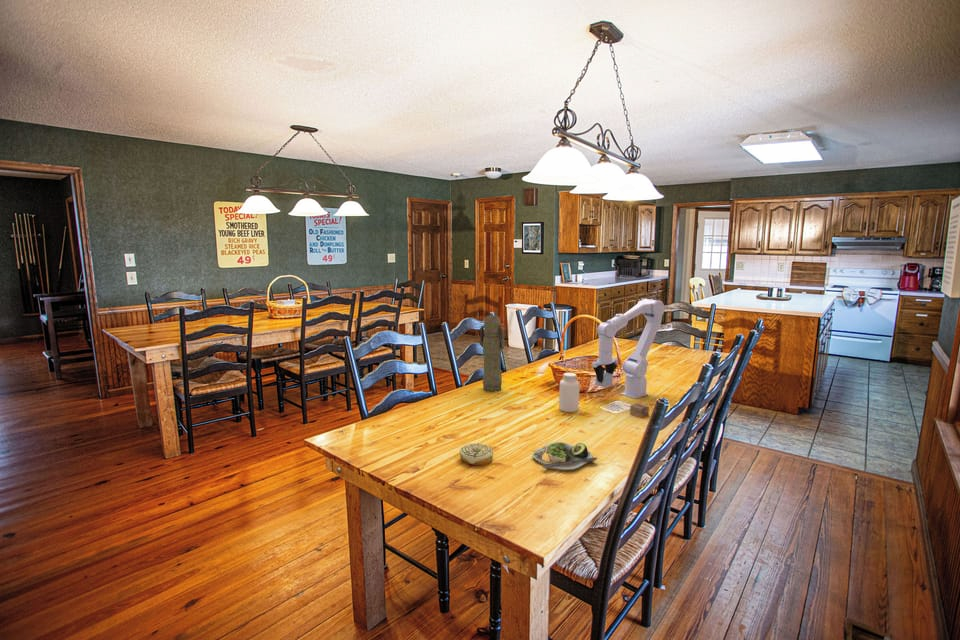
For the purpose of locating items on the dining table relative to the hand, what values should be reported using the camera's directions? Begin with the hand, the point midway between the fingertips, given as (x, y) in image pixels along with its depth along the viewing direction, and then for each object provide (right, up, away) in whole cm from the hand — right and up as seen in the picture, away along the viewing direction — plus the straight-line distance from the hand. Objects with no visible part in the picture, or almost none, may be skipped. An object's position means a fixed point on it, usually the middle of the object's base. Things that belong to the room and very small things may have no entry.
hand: (604, 381), depth 205 cm
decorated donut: (-56, -18, -55) cm, 80 cm away
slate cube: (0, -2, +1) cm, 2 cm away
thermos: (-49, -6, +17) cm, 52 cm away
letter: (+3, -10, -8) cm, 13 cm away
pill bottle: (-18, -11, -11) cm, 23 cm away
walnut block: (+9, -12, -17) cm, 23 cm away
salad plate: (-27, -18, -55) cm, 64 cm away
